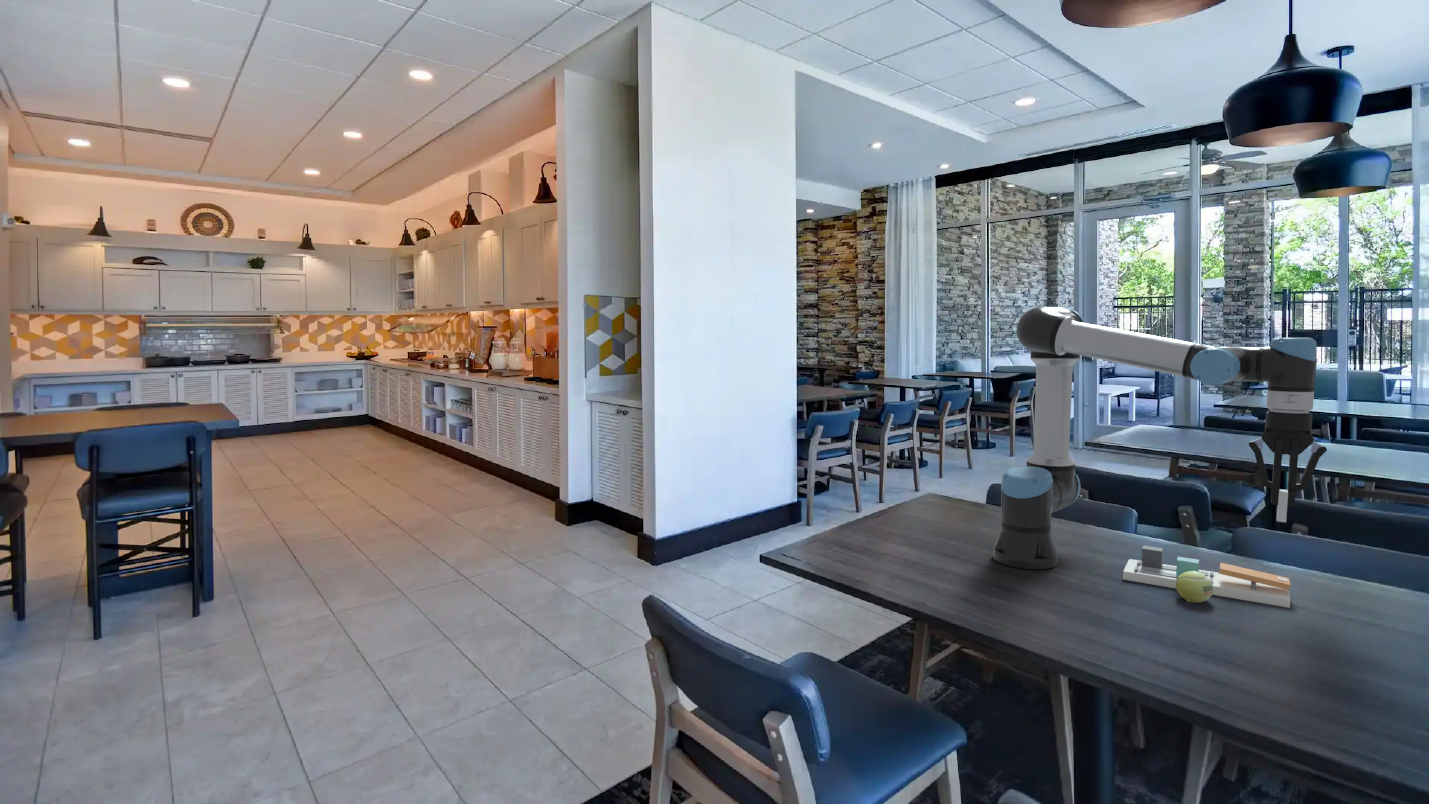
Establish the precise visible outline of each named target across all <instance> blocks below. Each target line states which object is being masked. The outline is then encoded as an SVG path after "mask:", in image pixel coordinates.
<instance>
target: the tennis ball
mask: <svg viewBox="0 0 1429 804" xmlns="http://www.w3.org/2000/svg"><path fill="white" fill-rule="evenodd" d="M1175 589H1176V591H1177V592H1178V594H1179V595H1180V596H1181V598H1182V599H1183V600H1185V601H1186V602H1187V603H1196V604H1197V603H1205V602H1206V601H1207V600H1209V599H1211V596H1212V591H1213V586H1212V583H1211V581H1210V580H1209V579H1208V578H1207V577H1206V576H1205V575H1204V574H1202V573H1200V572H1197V571H1188V572H1185V573H1183V574H1181V575H1180V576H1179V577H1178V579H1177V581H1176V588H1175Z"/></svg>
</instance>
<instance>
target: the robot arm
mask: <svg viewBox="0 0 1429 804" xmlns="http://www.w3.org/2000/svg"><path fill="white" fill-rule="evenodd" d="M1016 336H1017V339H1018V341H1019V343H1020V344H1021V345H1022V346H1023V348H1025V349H1026V350H1028V351H1030V360H1031V361H1032V362H1033V363H1034V364H1035V365H1036V366H1035V367H1036V370H1035V371H1036V372H1035V393H1034V395H1035V398H1034V419H1033V420H1034V424H1033V448H1032V451H1033V452H1032V454H1031V455H1030V456H1029V457H1028V458H1027V459H1026V465H1025V466H1020V467H1018V466H1016V467H1011V468H1009V469H1007V470H1006V471H1004V472H1003V474H1002V479H1001V483H1000V490H1001V502H1000V503H1001V506H1000V507H1001V508H1000V530H999V532H998V535H997V538H996V540H995V544H994V545H993V550H992V558H993V560H994V561H996V562H998V563H1000V564H1003V565H1005V566H1007V567H1008V566H1009V567H1012V568H1018V569H1025V570H1026V569H1027V570H1048V569H1053V568H1055V567H1057V566H1058V565H1059V564H1058V563H1059V555H1058V551H1057V548H1056V545H1055V542H1054V539H1053V536H1052V514H1053V513H1054V512H1055V513H1056V512H1058V511H1062V510H1064V509H1066V508H1068V507H1069V506H1071V505H1072V504H1073V503H1074V502H1075V501H1077V499H1078V498H1079V495H1080V492H1081V481H1080V478H1079V476H1078V474H1076V462H1075V461H1074V460H1073V458H1071V456H1070V440H1071V439H1070V438H1071V437H1070V435H1071V416H1072V415H1071V412H1072V393H1073V392H1072V390H1073V367H1074V365H1075V364H1076V363H1077V362H1078V361H1080V359H1081V358H1080V357H1088V358H1091V359H1097V360H1101V361H1102V360H1103V361H1105V362H1110V363H1116V364H1121V365H1124V366H1130V367H1136V368H1139V369H1145V370H1149V371H1154V372H1159V373H1163V374H1168V375H1174V376H1177V377H1182V378H1187V379H1191V380H1196V381H1199V382H1200V383H1202V384H1206V385H1210V386H1220V385H1222V386H1223V385H1225V384H1227V383H1231V382H1232V383H1233V382H1259V383H1264V382H1266V383H1267V392H1266V409H1268V410H1267V412H1265V420H1264V431H1263V432H1262V433H1261V437H1259V438H1257V439H1254V440H1249V441H1248V446H1249V448H1250V449H1251V450H1252V452H1253V453H1254V456H1255V457H1254V458H1255V462H1256V466H1257V470H1258V475H1259V478H1260V483H1261V485H1262V486H1263V487H1266V488H1268V489H1270V490H1271V495H1270V502H1271V505H1274V506H1277V508H1276V522H1279V523H1280V522H1281V523H1287V517H1288V516H1287V513H1288V507H1290V508H1291V507H1292V508H1294V506H1295V502H1296V500H1295V499H1296V492H1298V491H1306V490H1307V489H1308V488H1309V484H1310V482H1311V480H1312V477H1313V475H1314V472H1315V469H1316V467H1317V465H1318V462H1319V461H1320V458H1321V457H1322V456H1323V455H1324V454H1325V453H1326V452H1327V450H1328V449H1327V447H1326V445H1323V444H1320V443H1318V442H1317V441H1315V438H1314V436H1313V434H1312V425H1313V414H1312V413H1311V411H1312V410H1314V398H1315V397H1314V395H1315V385H1316V384H1315V383H1316V374H1317V365H1318V364H1317V362H1318V359H1317V356H1318V355H1317V352H1318V351H1317V350H1318V349H1317V346H1318V344H1317V341H1316V340H1315V339H1314V338H1312V337H1275V338H1272V339H1271V341H1270V344H1269V346H1261V347H1259V346H1257V347H1256V346H1220V345H1219V346H1213V345H1208V344H1202V343H1195V342H1191V341H1184V340H1180V339H1175V338H1170V337H1163V336H1157V335H1153V334H1146V333H1143V332H1142V333H1141V332H1134V331H1130V330H1124V329H1121V328H1120V329H1119V328H1113V327H1108V326H1102V325H1097V324H1090V323H1087V322H1086V319H1084V317H1083V316H1082V314H1080V313H1079V312H1078V311H1076V310H1073V309H1071V308H1068V307H1063V306H1062V307H1061V306H1055V307H1054V306H1036V307H1033V308H1030V309H1029V310H1027V311H1026V312H1025V313H1023V314H1022V316H1020V318H1019V320H1018V322H1017V325H1016ZM1263 443H1265V445H1266V446H1267V447H1268V448H1269V450H1270V451H1271V452H1272V453H1273V465H1272V479H1271V480H1272V481H1271V480H1269V477H1268V474H1267V469H1266V464H1265V461H1264V457H1263V453H1262V449H1263V448H1264V445H1263ZM1309 447H1310V451H1311V453H1310V456H1309V458H1308V462H1307V464H1306V466H1305V469H1304V471H1303V473H1302V476H1301V478H1300V481H1299V483H1297V477H1298V476H1297V475H1298V464H1299V463H1298V461H1299V455H1301V454H1303V452H1304V451H1306V450H1307V449H1308V448H1309ZM1283 455H1288V456H1289V458H1288V459H1289V460H1288V462H1289V463H1288V473H1287V474H1288V477H1287V489H1281V487H1280V486H1281V474H1282V462H1283V461H1282V460H1283Z"/></svg>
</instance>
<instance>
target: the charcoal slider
mask: <svg viewBox="0 0 1429 804" xmlns="http://www.w3.org/2000/svg"><path fill="white" fill-rule="evenodd" d="M1163 559H1164V547H1156V546H1150V545H1143V546H1142V548H1141V561H1142V563H1141V565H1145V566H1152V567H1158V568H1161V567H1162V564H1163Z"/></svg>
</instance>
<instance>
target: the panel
mask: <svg viewBox="0 0 1429 804" xmlns="http://www.w3.org/2000/svg"><path fill="white" fill-rule="evenodd" d="M1141 563H1142V559H1132V558H1129V559H1128V561H1127V563H1126V565H1125V567H1124V569H1123V572H1122V573H1123V574H1122V580H1125V581H1130V582H1136V583H1142V584H1147V585H1154V586H1160V587H1165V588H1169V589H1176V581H1177V579H1178V577H1176V569H1177V565H1170V564H1165V563H1164V564H1163V563H1162V567H1161V568H1158V567H1152V566H1145V565H1141ZM1199 572H1200V573H1202V574H1204V575H1205V576H1206V577H1207V578H1208V579H1209V580H1210V581H1211V583H1212V586H1213V591H1212V595H1213V596H1217V597H1218V596H1219V597H1223V598H1230V599H1235V600H1241V601H1247V602H1251V603H1252V602H1254V603H1261V604H1263V605H1270V606H1277V607H1283V608H1288V609H1290V608H1291V595H1290V594H1291V593H1290V590H1286V589H1282V588H1278V587H1274V586H1269V585H1265V584H1261V583H1257V582H1252V581H1248V580H1244V579H1240V578H1235V577H1231V576H1227V575H1223V574H1219V572H1215V571H1214V570H1210V571H1209V570H1204V569H1199ZM1212 595H1211V596H1212Z"/></svg>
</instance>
